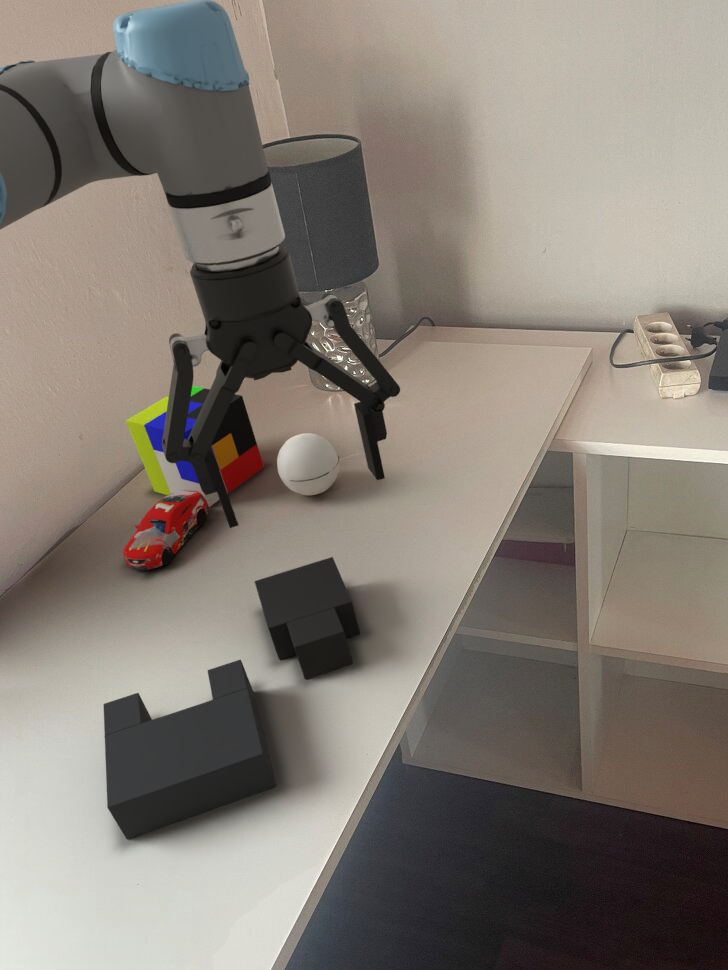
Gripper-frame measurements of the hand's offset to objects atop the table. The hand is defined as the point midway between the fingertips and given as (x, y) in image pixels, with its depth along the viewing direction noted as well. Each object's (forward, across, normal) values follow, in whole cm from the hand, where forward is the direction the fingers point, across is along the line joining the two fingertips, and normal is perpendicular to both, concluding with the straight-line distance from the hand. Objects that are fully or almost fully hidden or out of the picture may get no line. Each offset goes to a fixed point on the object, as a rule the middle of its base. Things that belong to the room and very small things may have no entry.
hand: (305, 496), depth 78 cm
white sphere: (+14, +5, +23) cm, 28 cm away
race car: (+14, -14, +23) cm, 30 cm away
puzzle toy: (+14, -7, +35) cm, 38 cm away
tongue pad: (+13, -3, -2) cm, 14 cm away
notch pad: (+14, -16, -13) cm, 25 cm away
